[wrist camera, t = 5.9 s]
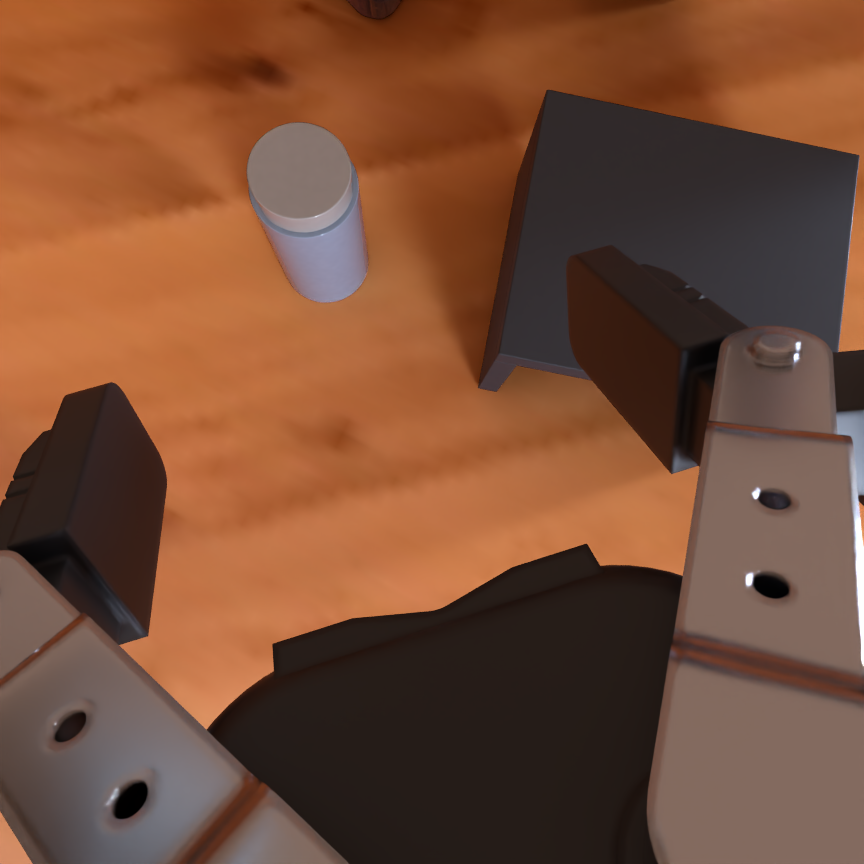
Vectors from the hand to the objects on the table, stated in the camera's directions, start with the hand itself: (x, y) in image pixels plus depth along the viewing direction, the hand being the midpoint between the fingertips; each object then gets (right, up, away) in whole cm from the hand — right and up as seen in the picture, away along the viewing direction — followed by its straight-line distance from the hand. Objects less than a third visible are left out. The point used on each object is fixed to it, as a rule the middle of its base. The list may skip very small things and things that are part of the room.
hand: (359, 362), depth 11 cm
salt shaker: (-4, +8, +22) cm, 24 cm away
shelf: (+12, +6, +23) cm, 26 cm away
